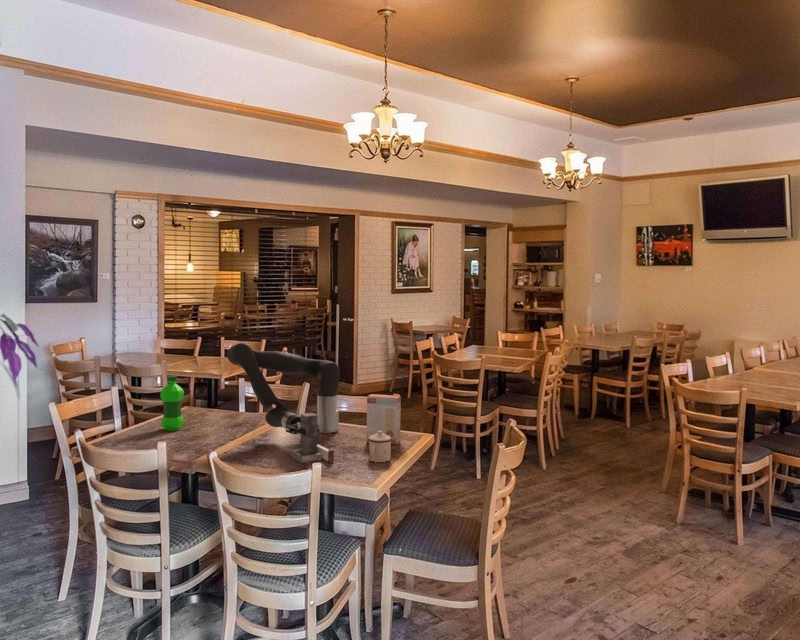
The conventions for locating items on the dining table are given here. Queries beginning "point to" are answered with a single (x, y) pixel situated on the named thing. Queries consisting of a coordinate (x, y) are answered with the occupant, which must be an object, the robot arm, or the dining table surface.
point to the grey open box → (310, 456)
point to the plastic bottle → (172, 404)
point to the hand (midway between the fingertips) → (311, 431)
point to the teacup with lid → (379, 447)
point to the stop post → (309, 434)
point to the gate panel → (324, 451)
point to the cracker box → (384, 416)
